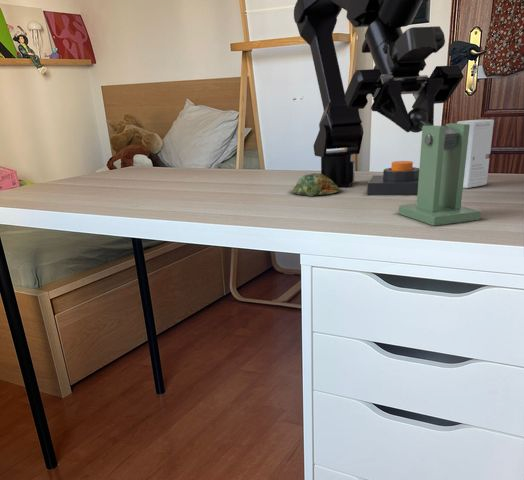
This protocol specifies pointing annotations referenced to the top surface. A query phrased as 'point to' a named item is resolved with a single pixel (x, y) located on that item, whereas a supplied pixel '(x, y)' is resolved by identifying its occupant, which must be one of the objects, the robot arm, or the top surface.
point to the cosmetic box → (478, 152)
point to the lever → (421, 118)
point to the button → (402, 166)
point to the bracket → (441, 179)
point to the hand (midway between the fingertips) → (420, 129)
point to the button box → (394, 183)
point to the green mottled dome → (315, 185)
